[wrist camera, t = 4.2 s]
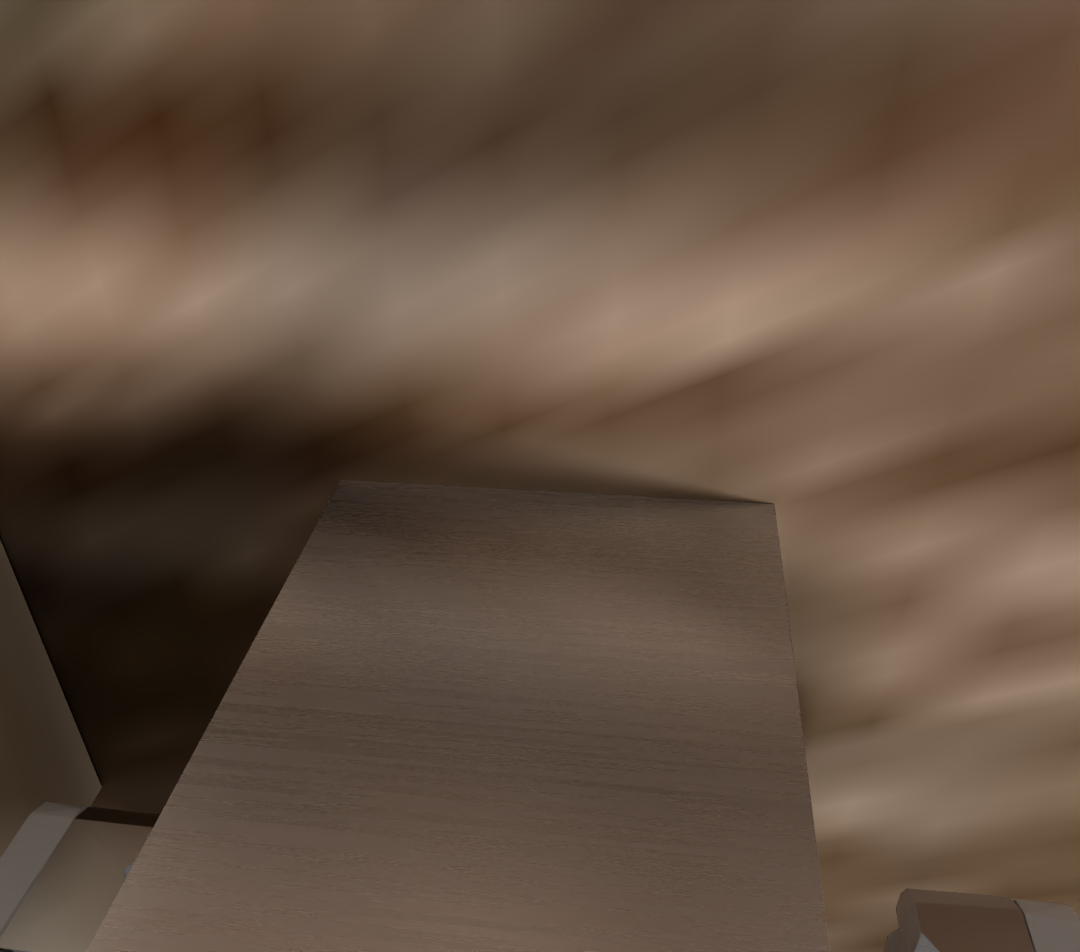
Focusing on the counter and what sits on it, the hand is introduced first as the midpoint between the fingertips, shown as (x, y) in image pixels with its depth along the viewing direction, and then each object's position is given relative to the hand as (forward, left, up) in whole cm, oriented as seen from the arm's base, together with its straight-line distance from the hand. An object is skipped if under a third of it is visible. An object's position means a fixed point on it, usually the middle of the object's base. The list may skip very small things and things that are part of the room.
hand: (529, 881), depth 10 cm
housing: (0, 0, -2) cm, 2 cm away
